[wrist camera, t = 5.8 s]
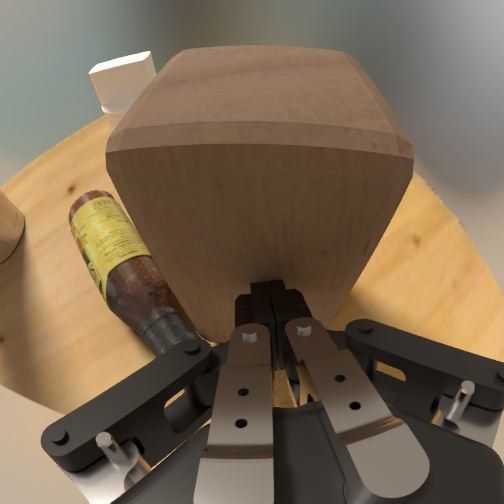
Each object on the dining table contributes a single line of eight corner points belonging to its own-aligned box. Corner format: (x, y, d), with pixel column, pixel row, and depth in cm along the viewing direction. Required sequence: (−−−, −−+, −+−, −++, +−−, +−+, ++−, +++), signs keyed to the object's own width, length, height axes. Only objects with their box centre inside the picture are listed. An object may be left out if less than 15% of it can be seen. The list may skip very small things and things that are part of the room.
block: (317, 348, 23) (435, 160, 6) (200, 343, 24) (84, 152, 7) (313, 250, 29) (356, 49, 12) (213, 247, 29) (173, 46, 12)
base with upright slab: (173, 105, 41) (158, 42, 30) (160, 140, 37) (137, 70, 26) (124, 112, 41) (103, 55, 31) (107, 147, 37) (77, 86, 27)
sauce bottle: (56, 215, 25) (138, 386, 17) (98, 176, 26) (203, 334, 18) (88, 241, 31) (173, 384, 23) (126, 208, 32) (225, 343, 24)
